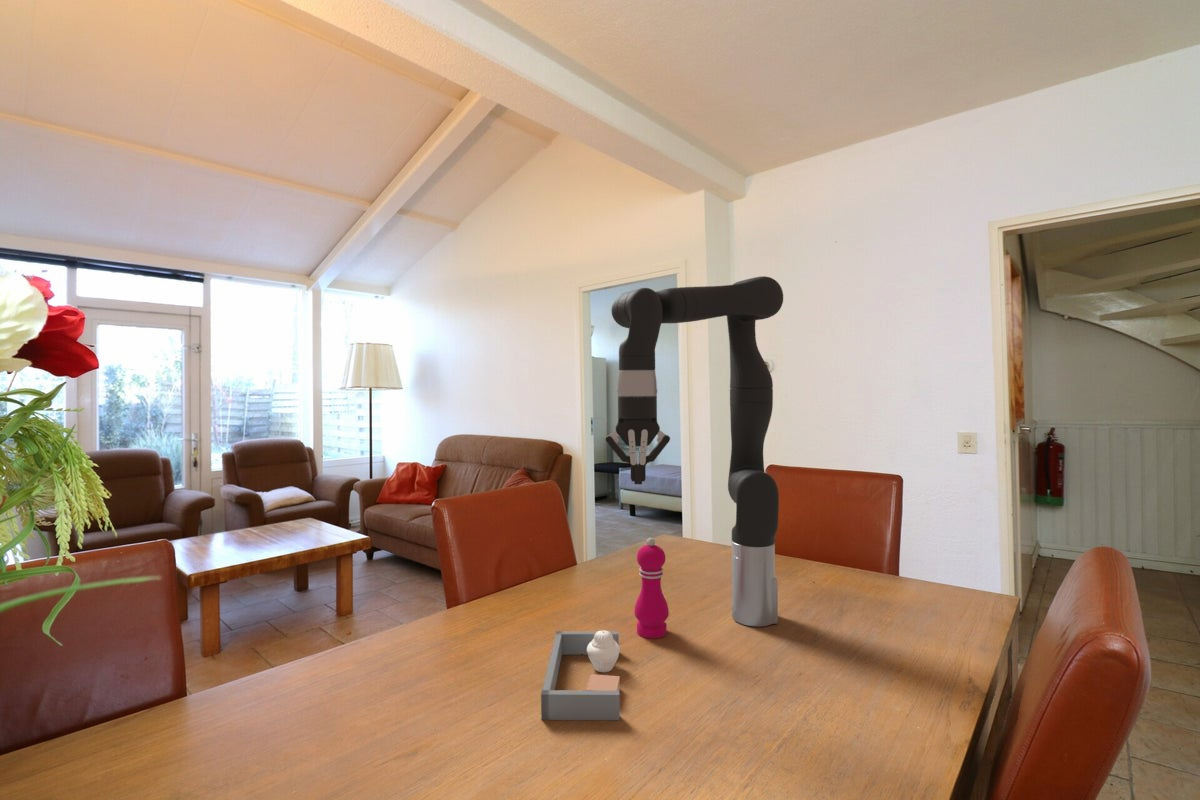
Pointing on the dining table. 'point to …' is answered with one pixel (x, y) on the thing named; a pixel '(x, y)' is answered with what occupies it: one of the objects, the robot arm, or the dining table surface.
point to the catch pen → (575, 701)
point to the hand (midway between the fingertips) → (637, 483)
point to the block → (603, 683)
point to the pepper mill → (651, 592)
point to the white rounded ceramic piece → (603, 651)
